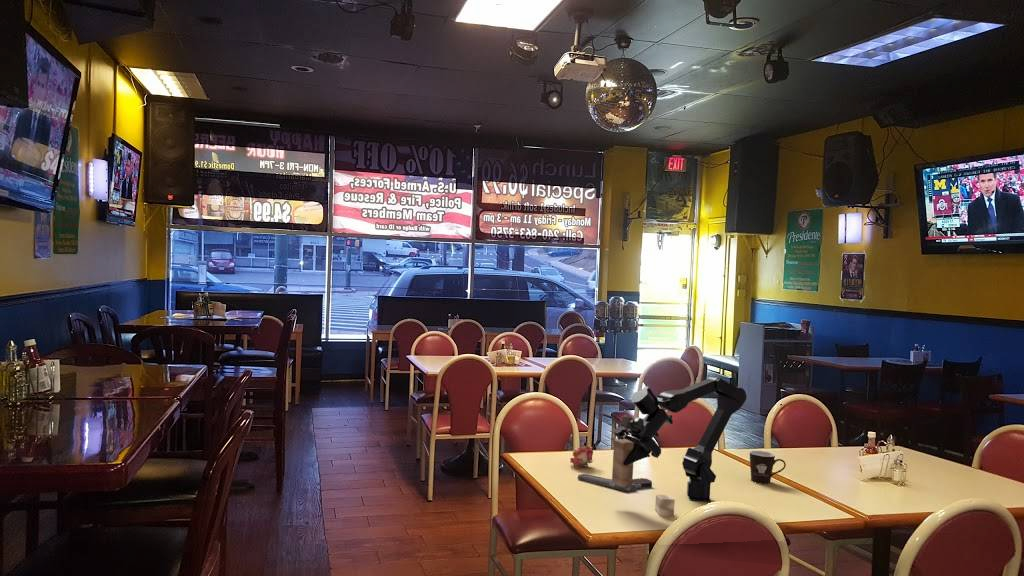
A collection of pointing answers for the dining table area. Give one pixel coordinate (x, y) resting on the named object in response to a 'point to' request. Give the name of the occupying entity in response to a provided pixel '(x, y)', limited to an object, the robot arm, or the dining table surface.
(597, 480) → the handgun
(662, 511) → the maple block
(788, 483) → the dining table surface
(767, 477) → the coffee mug
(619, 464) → the walnut block
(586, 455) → the flower
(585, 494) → the dining table surface
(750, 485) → the dining table surface
